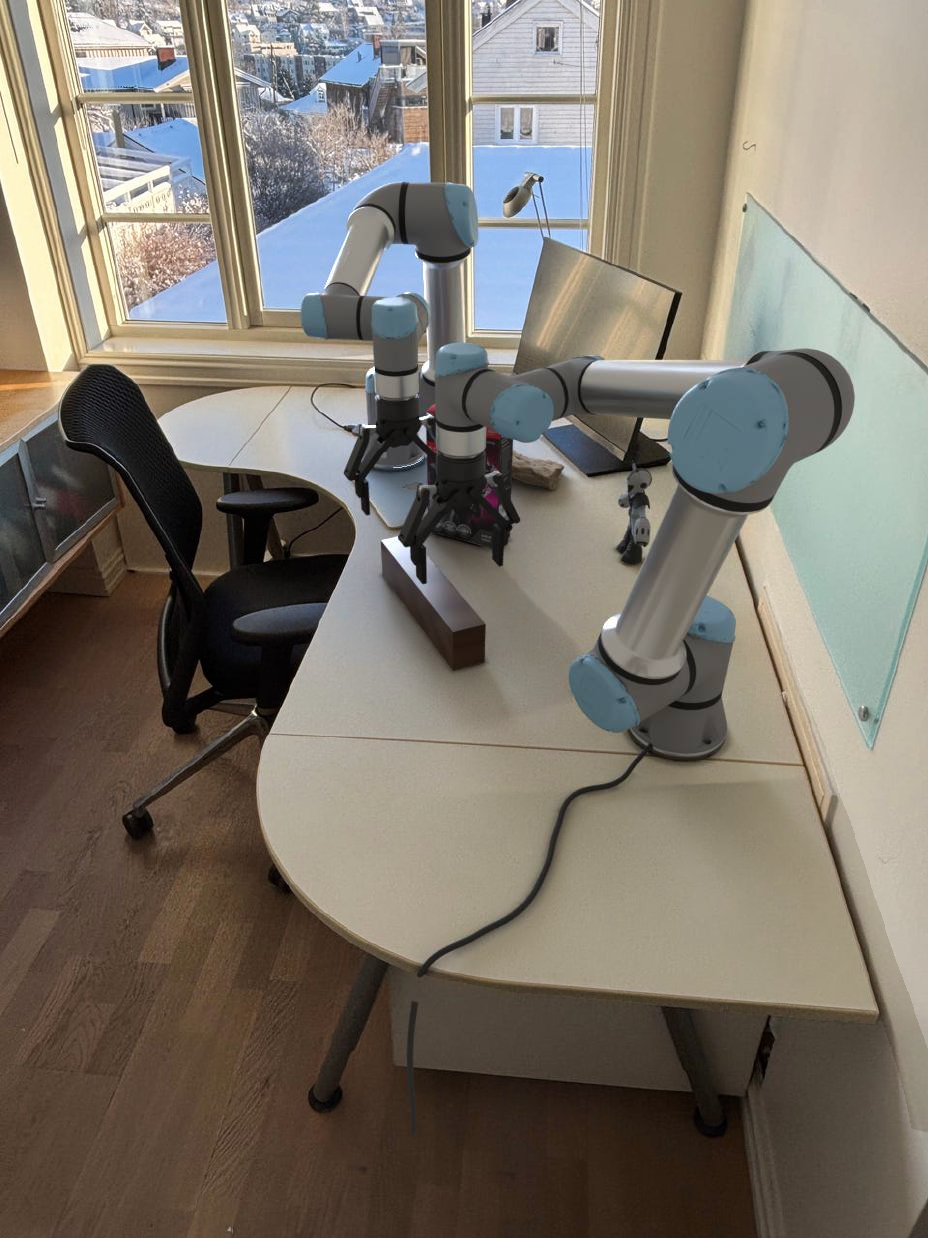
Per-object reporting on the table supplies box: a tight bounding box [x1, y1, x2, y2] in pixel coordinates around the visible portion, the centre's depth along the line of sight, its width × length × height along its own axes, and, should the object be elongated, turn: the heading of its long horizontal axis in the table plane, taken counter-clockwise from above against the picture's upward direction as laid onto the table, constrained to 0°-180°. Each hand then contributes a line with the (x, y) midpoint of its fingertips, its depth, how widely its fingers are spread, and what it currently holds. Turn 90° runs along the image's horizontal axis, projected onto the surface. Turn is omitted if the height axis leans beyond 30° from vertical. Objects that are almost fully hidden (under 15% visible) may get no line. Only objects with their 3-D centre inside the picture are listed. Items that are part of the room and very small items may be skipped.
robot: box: [615, 459, 653, 566], centre depth 183 cm, size 20×5×20 cm, turn 3°
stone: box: [512, 449, 565, 490], centre depth 217 cm, size 21×15×6 cm
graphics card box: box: [425, 404, 514, 549], centre depth 187 cm, size 17×7×27 cm, turn 62°
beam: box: [380, 536, 487, 672], centre depth 167 cm, size 34×6×8 cm, turn 25°
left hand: (400, 505), depth 170 cm, fingers open, 13 cm apart
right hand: (460, 571), depth 150 cm, fingers open, 13 cm apart
